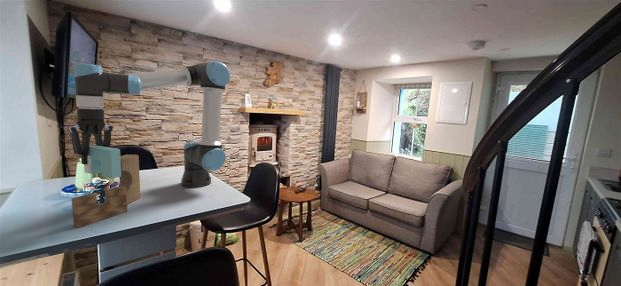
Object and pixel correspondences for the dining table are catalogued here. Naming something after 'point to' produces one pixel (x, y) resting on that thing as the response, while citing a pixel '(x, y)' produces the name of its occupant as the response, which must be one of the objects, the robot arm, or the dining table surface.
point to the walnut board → (98, 206)
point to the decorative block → (130, 176)
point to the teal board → (105, 161)
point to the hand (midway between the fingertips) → (94, 171)
